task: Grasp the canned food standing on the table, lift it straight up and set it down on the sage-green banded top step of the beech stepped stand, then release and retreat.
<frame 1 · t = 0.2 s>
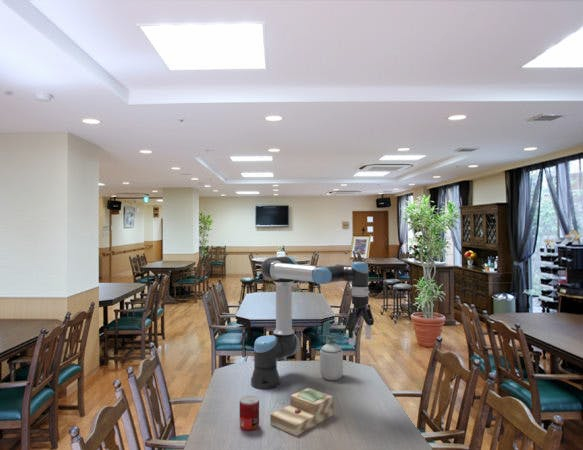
hand: (360, 341, 185), 28 cm above the table, fingers open, 13 cm apart
canned food: (249, 427, 162), on the table
stand: (302, 419, 168), on the table
soap bottle: (331, 377, 216), on the table
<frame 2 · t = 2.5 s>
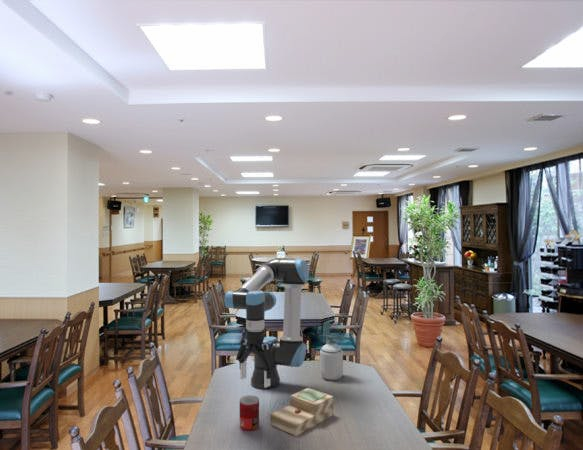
hand: (255, 382, 163), 17 cm above the table, fingers open, 13 cm apart
nothing on the table moved.
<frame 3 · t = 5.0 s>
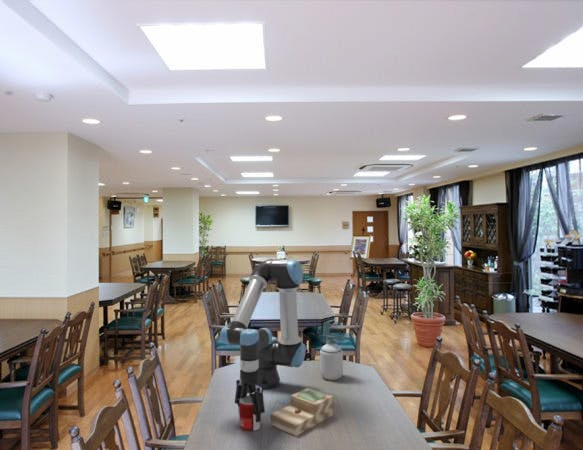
hand: (249, 425, 162), 0 cm above the table, fingers closed on canned food, 8 cm apart
canned food: (249, 426, 162), on the table, touching gripper
everything else where it was.
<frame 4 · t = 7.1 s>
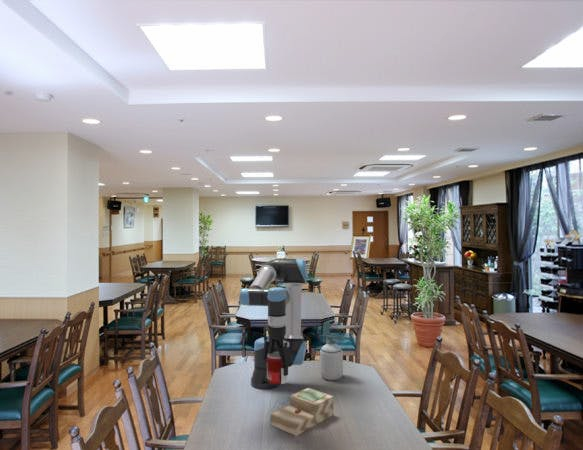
hand: (276, 380, 167), 17 cm above the table, fingers closed on canned food, 8 cm apart
canned food: (276, 381, 167), point 16 cm above the table, touching gripper
everything else where it was.
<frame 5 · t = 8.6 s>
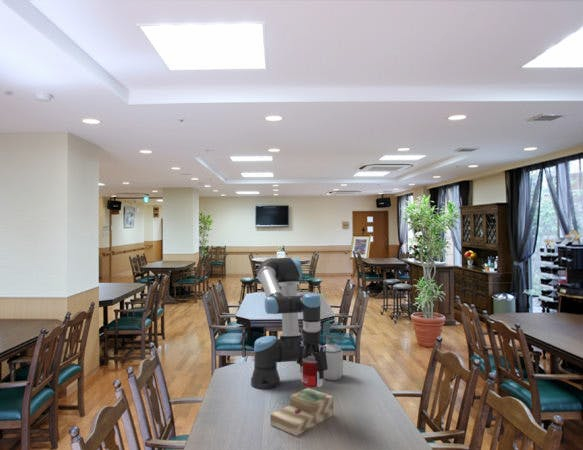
hand: (311, 383, 173), 13 cm above the table, fingers closed on canned food, 8 cm apart
canned food: (311, 384, 173), point 13 cm above the table, touching gripper
everything else where it was.
when the fingers open (10 cm above the table, at t = 9.6 s): canned food drops 1 cm, resting on stand.
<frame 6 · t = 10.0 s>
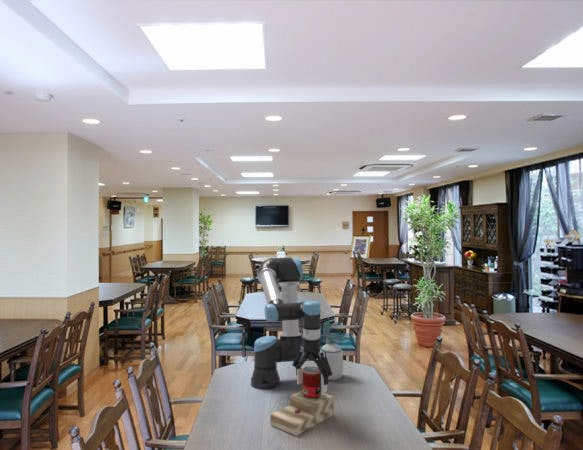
hand: (311, 387, 173), 11 cm above the table, fingers open, 13 cm apart
canned food: (311, 395, 173), point 8 cm above the table, touching stand
everything else where it was.
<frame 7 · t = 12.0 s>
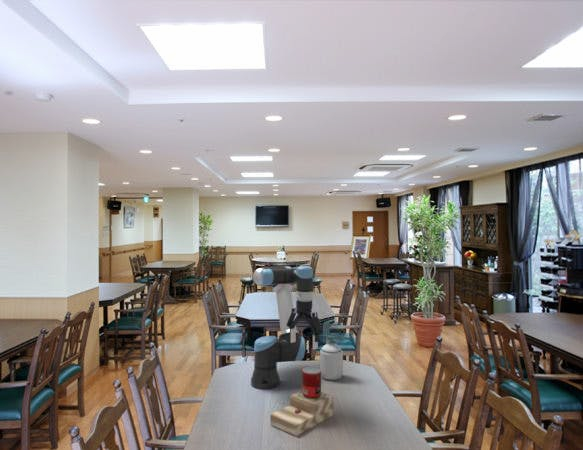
hand: (303, 345, 187), 26 cm above the table, fingers open, 13 cm apart
nothing on the table moved.
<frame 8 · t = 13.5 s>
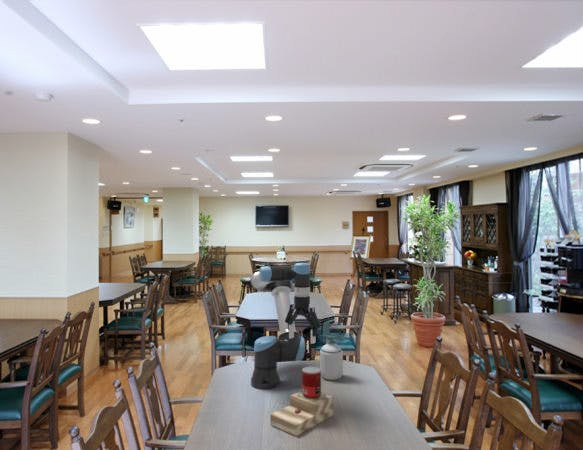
hand: (302, 340, 191), 27 cm above the table, fingers open, 13 cm apart
nothing on the table moved.
at the end: canned food inside the target area on the stand (0.0 cm from its centre), point 8.1 cm above the stand's base; canned food tilted 1°; the gripper is holding nothing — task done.
